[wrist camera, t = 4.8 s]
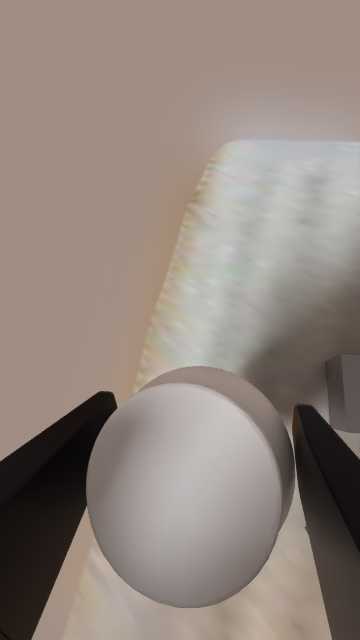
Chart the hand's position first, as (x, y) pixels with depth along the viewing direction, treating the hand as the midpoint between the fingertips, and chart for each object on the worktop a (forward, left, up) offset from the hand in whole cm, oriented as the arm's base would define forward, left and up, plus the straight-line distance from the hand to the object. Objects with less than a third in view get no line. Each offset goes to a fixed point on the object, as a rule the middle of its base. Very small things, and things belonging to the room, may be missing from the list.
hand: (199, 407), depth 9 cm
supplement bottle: (-1, 0, -7) cm, 7 cm away
